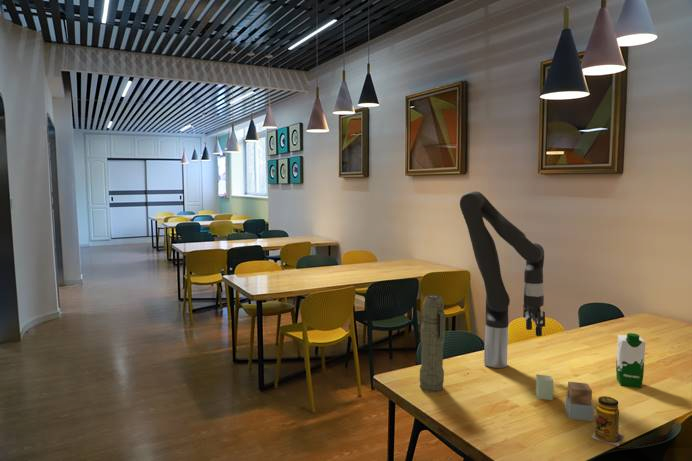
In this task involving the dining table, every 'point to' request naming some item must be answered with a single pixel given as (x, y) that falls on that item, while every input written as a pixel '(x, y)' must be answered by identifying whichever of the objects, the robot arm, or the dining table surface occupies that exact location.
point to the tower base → (579, 411)
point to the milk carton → (630, 360)
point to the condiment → (607, 421)
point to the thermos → (432, 344)
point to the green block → (544, 387)
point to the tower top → (579, 393)
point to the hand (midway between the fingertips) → (533, 332)
